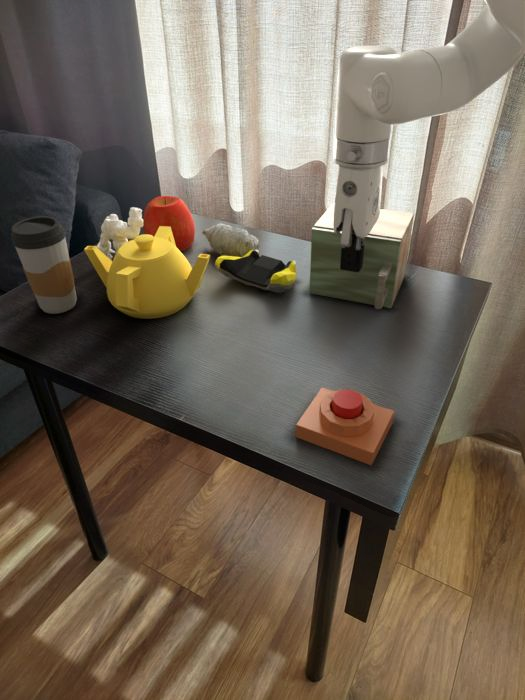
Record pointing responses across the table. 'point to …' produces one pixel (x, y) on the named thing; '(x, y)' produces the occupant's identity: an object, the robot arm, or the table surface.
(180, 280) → the teapot
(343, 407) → the button
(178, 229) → the apple
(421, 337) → the table surface
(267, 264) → the black and yellow shoe
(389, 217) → the cupboard
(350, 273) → the door
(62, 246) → the coffee cup
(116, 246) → the figurine
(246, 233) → the seashell
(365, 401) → the button block
